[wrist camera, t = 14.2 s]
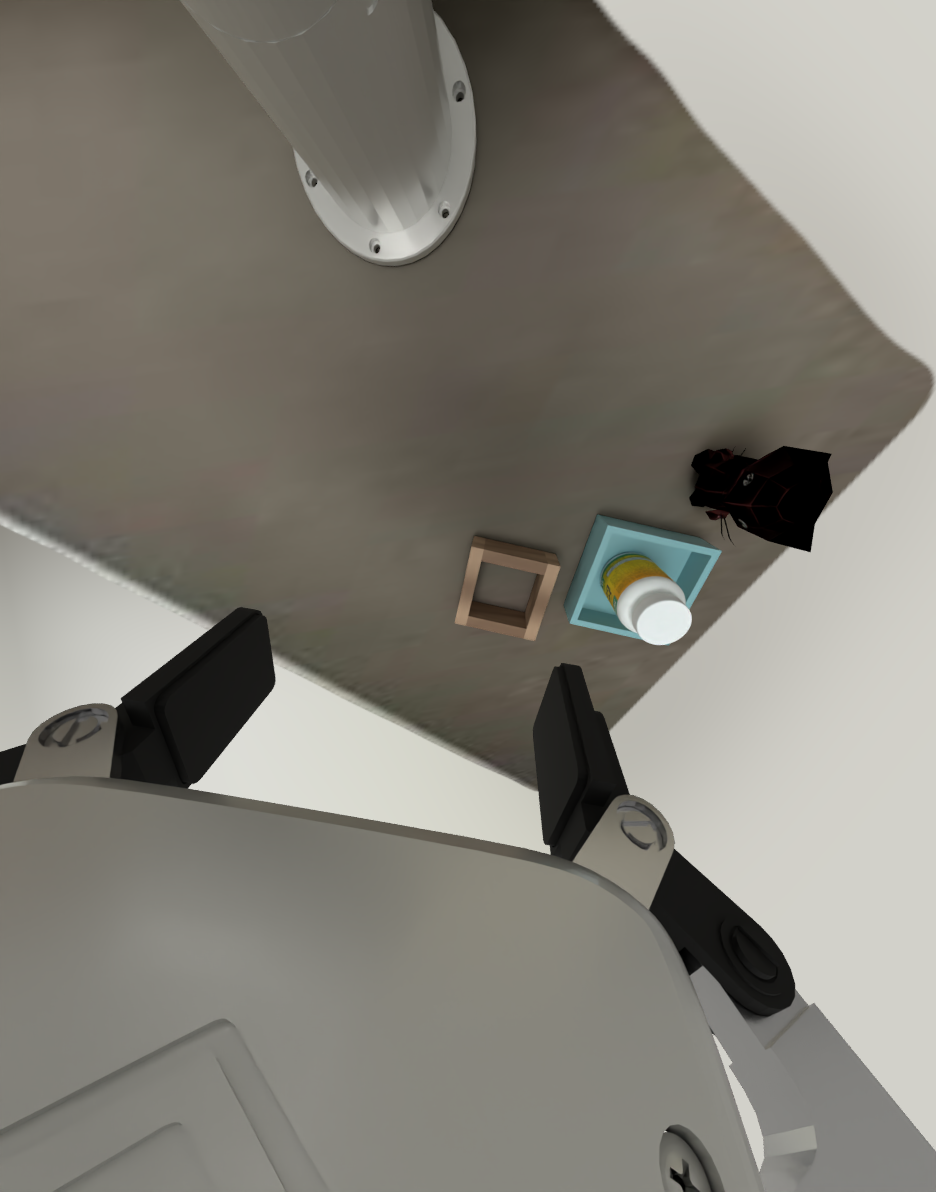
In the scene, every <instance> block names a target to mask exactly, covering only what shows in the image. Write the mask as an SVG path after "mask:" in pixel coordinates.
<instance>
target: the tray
mask: <svg viewBox="0 0 936 1192" xmlns="http://www.w3.org/2000/svg"><path fill="white" fill-rule="evenodd" d="M628 552H633V553H640V554H643V555H645V556H647V557H648V558H650V559H651V560H652V561H653V562H654V563H655V564H656V565H657V566H658V567H659V568H660V569H661V570H662V571H664V572H665V573H666V574H667V575H668V576H669V577H670V578H671V579H672V580H673V581H674V582H675V583H676V584H678V585H679V587H680V588H681V589H682V591H683V593H684V596H685V600H686V606H687V607H688V609H690V607H691V605H692V603H693V602H694V600H695V598H696V596H697V594H698V593H699V591H700V589H701V587H702V586H703V584H704V582H705V580H706V578H707V577H708V575H709V573H710V571H711V570H712V568H713V566H714V564H715V562H716V561H717V559H718V557H719V555H720V554H721V552H722V551H721V550H719V549H718V548H716V547H714V546H713V545H711V544H709V543H708V542H706V541H704V540H703V539H701V538H699V537H695V536H690V535H686V534H682V533H677V532H673V531H668V530H664V529H660V528H655V527H651V526H646V525H642V524H638V523H633V522H629V521H624V520H620V519H616V518H611V517H607V516H602V515H598V514H597V516H596V519H595V522H594V524H593V527H592V530H591V532H590V535H589V538H588V540H587V543H586V546H585V548H584V551H583V554H582V556H581V559H580V562H579V564H578V567H577V570H576V573H575V575H574V578H573V581H572V583H571V586H570V589H569V591H568V594H567V597H566V599H565V602H564V608H565V611H566V614H567V617H568V620H569V623H570V624H575V625H579V626H584V627H588V628H592V629H597V630H601V631H606V632H610V633H615V634H619V635H624V636H628V637H633V638H637V639H642V638H641V637H640V636H639V635H638V633H635V632H633V631H631V630H629V629H627V628H626V627H625V626H624V625H623V624H622V623H621V621H620V620H619V618H618V616H617V615H616V613H615V611H614V609H613V607H612V606H611V604H610V602H609V601H608V599H607V597H606V595H605V594H604V592H603V590H602V588H601V585H600V577H601V573H602V570H603V568H604V566H605V565H606V564H607V563H608V562H609V561H610V560H611V559H612V558H614V557H615V556H617V555H620V554H623V553H628ZM642 640H643V639H642ZM669 644H670V643H669ZM669 644H665V645H668V646H669Z"/></svg>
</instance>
